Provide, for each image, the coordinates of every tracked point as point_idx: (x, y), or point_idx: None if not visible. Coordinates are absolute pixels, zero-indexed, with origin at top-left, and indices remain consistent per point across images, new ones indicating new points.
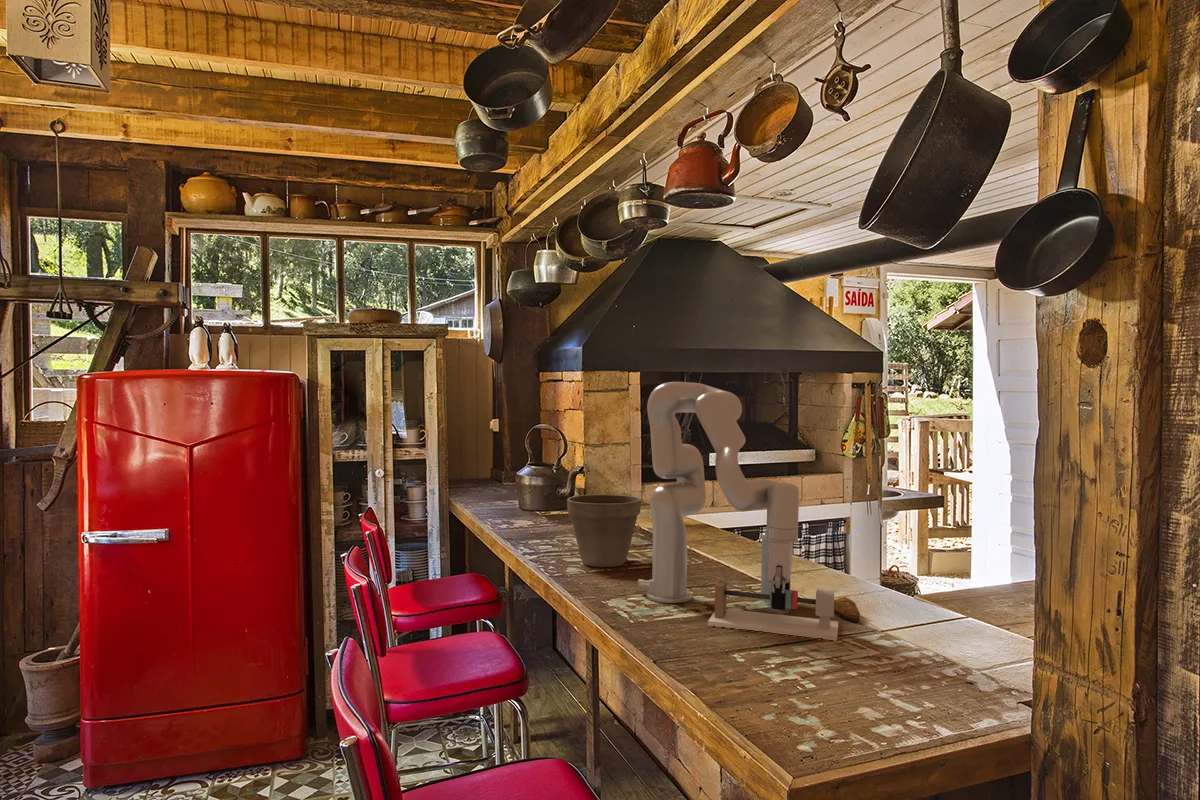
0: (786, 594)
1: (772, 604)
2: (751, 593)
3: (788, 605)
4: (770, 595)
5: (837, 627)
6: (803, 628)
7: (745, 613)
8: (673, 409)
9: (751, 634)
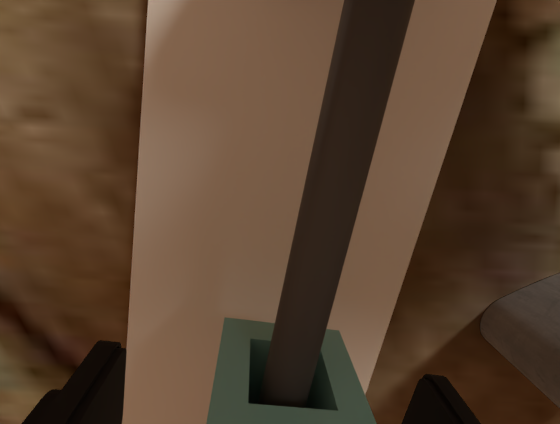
0: None
1: (83, 370)
2: (325, 191)
3: None
4: (211, 399)
5: None
6: (185, 402)
7: (399, 127)
8: None
9: (90, 148)
